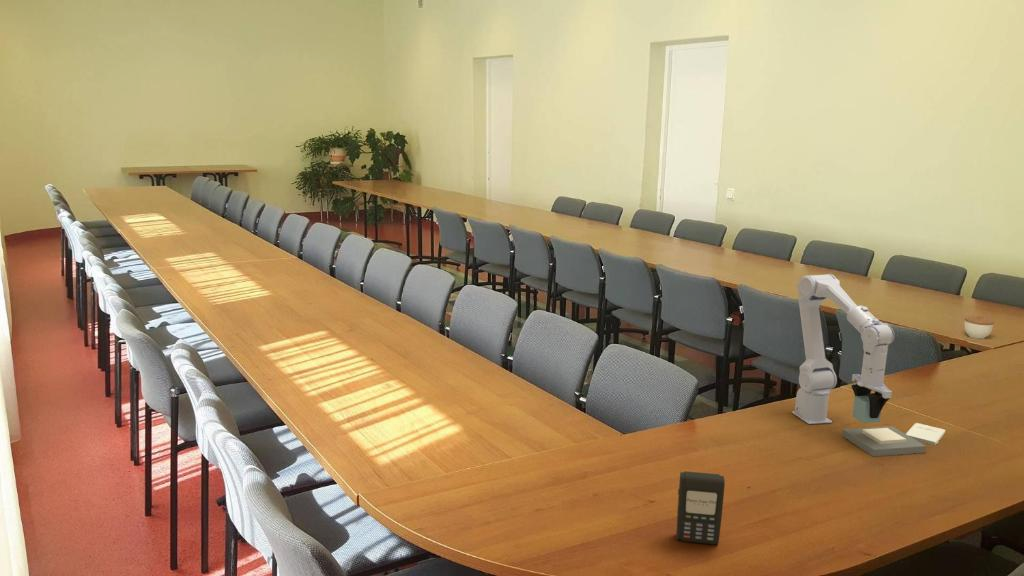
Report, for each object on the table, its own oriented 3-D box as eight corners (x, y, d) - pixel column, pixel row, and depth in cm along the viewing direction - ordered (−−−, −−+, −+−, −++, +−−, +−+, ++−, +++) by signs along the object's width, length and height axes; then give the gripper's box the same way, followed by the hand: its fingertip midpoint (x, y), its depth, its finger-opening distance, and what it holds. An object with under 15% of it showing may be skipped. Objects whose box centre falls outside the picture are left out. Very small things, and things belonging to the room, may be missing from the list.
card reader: (675, 542, 165) (680, 477, 162) (674, 533, 169) (679, 469, 166) (719, 547, 164) (725, 481, 161) (717, 537, 168) (723, 473, 164)
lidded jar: (965, 338, 329) (968, 317, 327) (959, 332, 339) (963, 311, 337) (994, 341, 326) (997, 319, 324) (987, 334, 336) (991, 313, 334)
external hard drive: (903, 439, 224) (914, 427, 233) (935, 447, 219) (945, 434, 228) (904, 434, 223) (915, 422, 233) (936, 442, 218) (945, 429, 228)
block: (852, 416, 218) (854, 396, 217) (868, 415, 219) (870, 395, 218) (863, 423, 214) (865, 402, 212) (879, 422, 214) (882, 401, 213)
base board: (842, 435, 224) (843, 426, 223) (891, 432, 227) (892, 423, 226) (873, 456, 210) (874, 446, 210) (925, 452, 213) (926, 442, 213)
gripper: (844, 359, 219) (839, 405, 222) (877, 376, 205) (871, 424, 208) (867, 358, 221) (861, 404, 224) (901, 375, 207) (894, 423, 210)
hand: (867, 413), depth 216 cm, fingers closed on block, 5 cm apart
